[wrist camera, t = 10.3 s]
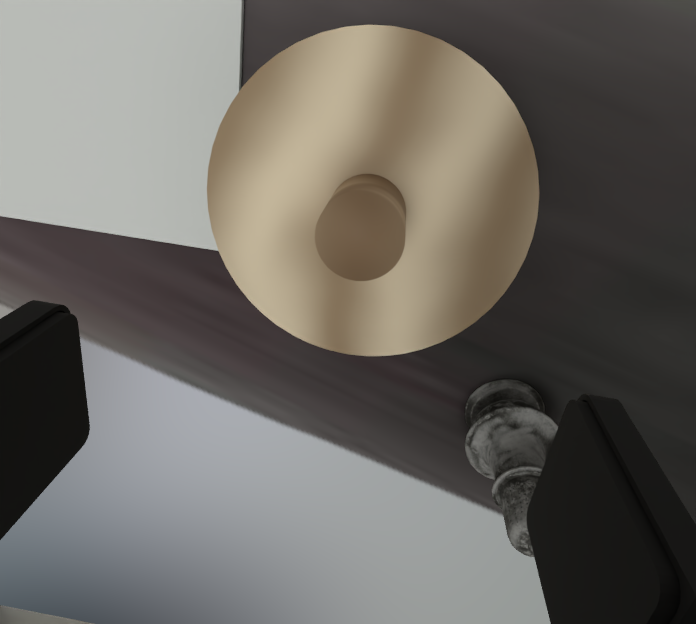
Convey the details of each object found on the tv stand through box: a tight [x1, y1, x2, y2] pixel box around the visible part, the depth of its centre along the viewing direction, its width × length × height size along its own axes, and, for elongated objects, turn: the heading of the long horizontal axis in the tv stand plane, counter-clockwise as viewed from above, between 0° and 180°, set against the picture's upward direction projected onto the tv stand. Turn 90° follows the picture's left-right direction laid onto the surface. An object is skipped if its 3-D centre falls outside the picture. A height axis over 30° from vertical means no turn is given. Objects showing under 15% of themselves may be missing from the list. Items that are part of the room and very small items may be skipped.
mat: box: [0, 0, 244, 251], centre depth 29 cm, size 17×17×1 cm
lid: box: [207, 25, 539, 356], centre depth 22 cm, size 15×15×5 cm
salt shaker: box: [465, 379, 558, 557], centre depth 30 cm, size 6×6×12 cm
